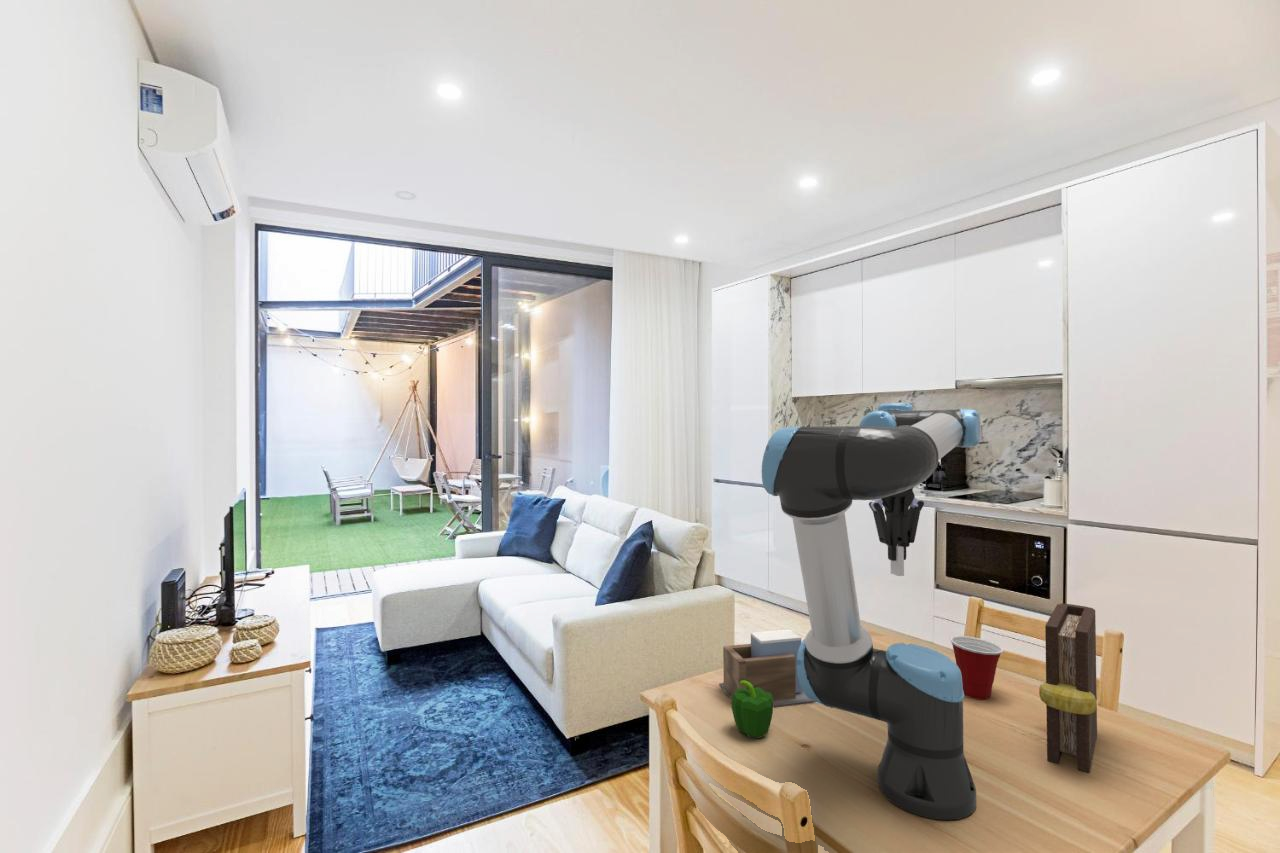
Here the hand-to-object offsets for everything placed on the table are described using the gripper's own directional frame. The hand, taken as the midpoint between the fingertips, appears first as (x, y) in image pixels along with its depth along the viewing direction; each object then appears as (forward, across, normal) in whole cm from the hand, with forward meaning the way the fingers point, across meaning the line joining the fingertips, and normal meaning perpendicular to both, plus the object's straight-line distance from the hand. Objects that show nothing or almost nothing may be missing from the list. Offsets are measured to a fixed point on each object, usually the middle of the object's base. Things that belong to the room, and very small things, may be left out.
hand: (897, 574), depth 138 cm
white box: (+28, +25, -10) cm, 39 cm away
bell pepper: (+29, +38, +6) cm, 48 cm away
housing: (+28, +27, -10) cm, 40 cm away
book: (+29, -19, +26) cm, 43 cm away
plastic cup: (+29, -19, +2) cm, 34 cm away
